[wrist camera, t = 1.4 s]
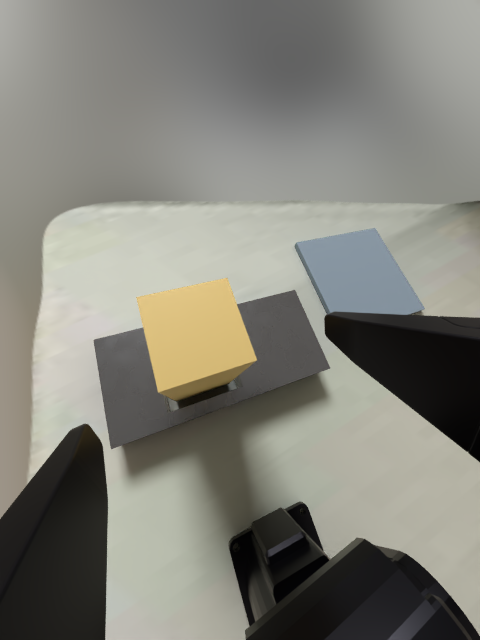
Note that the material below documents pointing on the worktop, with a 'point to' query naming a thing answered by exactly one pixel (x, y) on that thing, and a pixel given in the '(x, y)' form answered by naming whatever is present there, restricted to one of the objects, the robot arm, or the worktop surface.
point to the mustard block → (195, 338)
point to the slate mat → (357, 274)
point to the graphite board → (263, 375)
